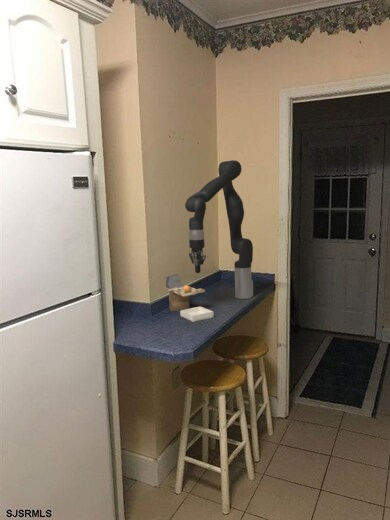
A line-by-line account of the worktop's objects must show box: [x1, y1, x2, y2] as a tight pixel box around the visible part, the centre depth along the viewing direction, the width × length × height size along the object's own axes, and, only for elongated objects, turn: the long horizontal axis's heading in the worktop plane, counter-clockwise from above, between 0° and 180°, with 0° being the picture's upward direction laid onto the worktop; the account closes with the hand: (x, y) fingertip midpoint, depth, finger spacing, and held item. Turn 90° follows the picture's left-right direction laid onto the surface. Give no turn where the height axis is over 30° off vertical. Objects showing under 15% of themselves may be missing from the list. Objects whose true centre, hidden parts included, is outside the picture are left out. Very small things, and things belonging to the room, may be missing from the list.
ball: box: [182, 284, 191, 292], centre depth 214 cm, size 4×4×4 cm
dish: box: [179, 306, 214, 323], centre depth 208 cm, size 12×12×3 cm
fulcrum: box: [168, 290, 191, 313], centre depth 222 cm, size 4×10×10 cm, turn 122°
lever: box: [164, 273, 206, 297], centre depth 221 cm, size 20×13×7 cm, turn 32°
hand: (197, 272), depth 216 cm, fingers closed
